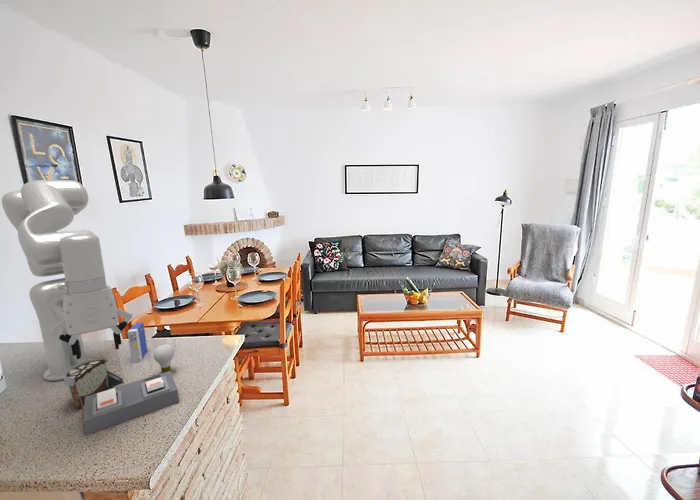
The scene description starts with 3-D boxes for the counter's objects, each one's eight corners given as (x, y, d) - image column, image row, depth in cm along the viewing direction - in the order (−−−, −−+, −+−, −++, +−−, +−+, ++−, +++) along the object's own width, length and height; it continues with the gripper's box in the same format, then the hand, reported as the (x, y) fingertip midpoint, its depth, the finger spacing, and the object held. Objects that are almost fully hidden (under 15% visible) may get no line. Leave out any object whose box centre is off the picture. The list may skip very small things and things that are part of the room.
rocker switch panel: (87, 409, 91) (84, 393, 90) (171, 382, 103) (170, 367, 102) (85, 435, 82) (82, 417, 81) (179, 401, 94) (177, 386, 93)
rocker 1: (97, 396, 88) (96, 393, 87) (115, 391, 90) (115, 387, 90) (98, 411, 84) (97, 407, 83) (117, 405, 86) (116, 401, 85)
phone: (101, 367, 111) (124, 379, 104) (101, 370, 111) (124, 382, 104) (72, 378, 104) (95, 393, 97) (73, 382, 105) (95, 396, 97)
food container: (92, 385, 102) (87, 355, 100) (111, 385, 102) (106, 355, 100) (56, 411, 90) (49, 379, 88) (78, 412, 90) (72, 379, 88)
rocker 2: (146, 386, 94) (145, 381, 94) (161, 381, 96) (161, 376, 96) (147, 391, 90) (147, 387, 90) (164, 386, 92) (163, 381, 92)
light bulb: (167, 379, 105) (163, 350, 103) (152, 377, 106) (147, 348, 104) (180, 369, 111) (177, 341, 109) (165, 367, 112) (161, 340, 110)
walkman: (139, 352, 122) (134, 322, 120) (147, 351, 123) (143, 321, 121) (131, 363, 115) (126, 331, 113) (140, 361, 116) (135, 330, 113)
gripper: (36, 296, 72) (51, 370, 75) (130, 281, 82) (140, 347, 85) (40, 288, 77) (54, 356, 81) (128, 275, 88) (137, 337, 91)
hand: (98, 351), depth 83 cm, fingers open, 7 cm apart
